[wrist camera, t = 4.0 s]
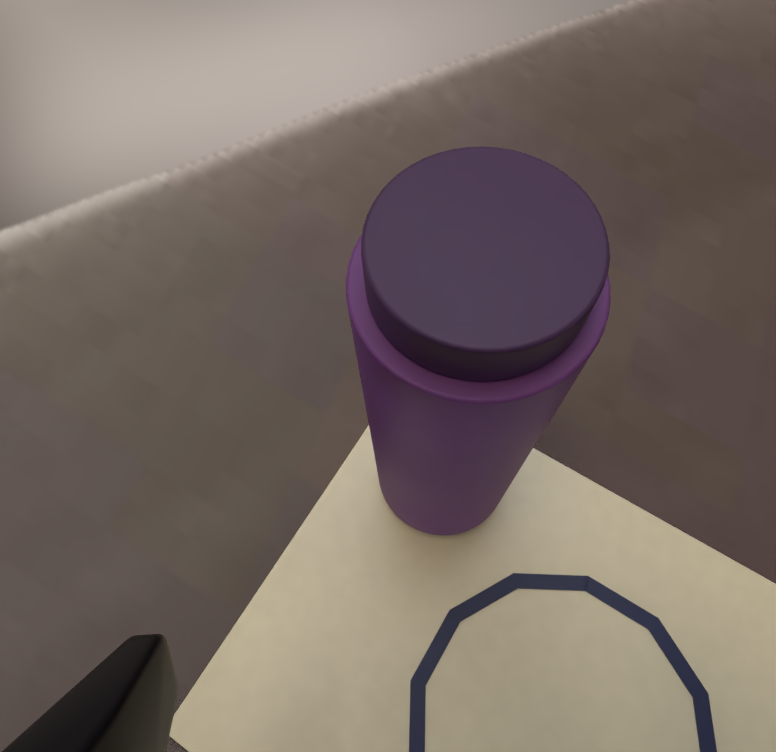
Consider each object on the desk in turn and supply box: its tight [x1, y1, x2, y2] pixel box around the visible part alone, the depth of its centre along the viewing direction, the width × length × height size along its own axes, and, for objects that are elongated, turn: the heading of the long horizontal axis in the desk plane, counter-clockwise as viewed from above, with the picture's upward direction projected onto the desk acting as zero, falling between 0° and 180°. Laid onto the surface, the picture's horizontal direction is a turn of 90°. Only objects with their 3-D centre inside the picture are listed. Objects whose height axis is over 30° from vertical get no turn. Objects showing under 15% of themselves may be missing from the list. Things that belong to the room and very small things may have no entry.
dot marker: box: [346, 147, 611, 535], centre depth 14 cm, size 4×4×13 cm
